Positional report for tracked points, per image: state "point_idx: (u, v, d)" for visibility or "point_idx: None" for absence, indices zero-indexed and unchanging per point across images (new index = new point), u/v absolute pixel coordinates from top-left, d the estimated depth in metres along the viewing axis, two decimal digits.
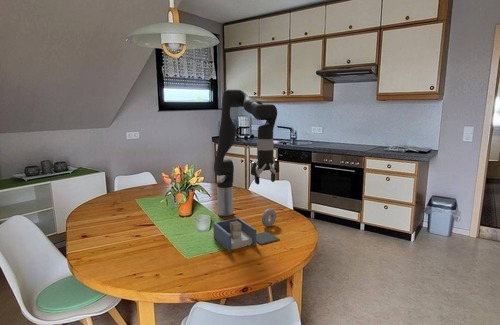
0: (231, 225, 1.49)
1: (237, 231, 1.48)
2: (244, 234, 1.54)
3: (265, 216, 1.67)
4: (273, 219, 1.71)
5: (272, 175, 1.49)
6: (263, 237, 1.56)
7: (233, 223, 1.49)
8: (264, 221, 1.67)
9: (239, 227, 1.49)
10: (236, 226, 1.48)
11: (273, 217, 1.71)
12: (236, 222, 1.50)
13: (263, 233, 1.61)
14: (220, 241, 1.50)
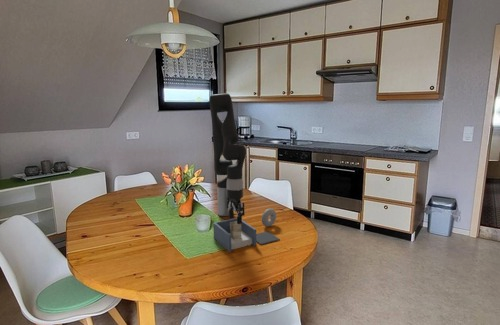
0: (231, 225, 1.49)
1: (237, 231, 1.48)
2: (244, 234, 1.54)
3: (265, 216, 1.67)
4: (273, 219, 1.71)
5: (231, 212, 1.52)
6: (263, 237, 1.56)
7: (233, 223, 1.49)
8: (264, 221, 1.67)
9: (239, 227, 1.49)
10: (236, 226, 1.48)
11: (273, 217, 1.71)
12: (236, 222, 1.50)
13: (263, 233, 1.61)
14: (220, 241, 1.50)
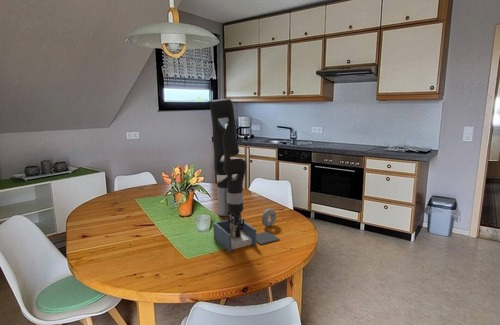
0: (231, 225, 1.49)
1: None
2: (244, 234, 1.54)
3: (265, 216, 1.67)
4: (273, 219, 1.71)
5: None
6: (263, 237, 1.56)
7: (233, 223, 1.49)
8: (264, 221, 1.67)
9: None
10: None
11: (273, 217, 1.71)
12: None
13: (263, 233, 1.61)
14: (220, 241, 1.50)
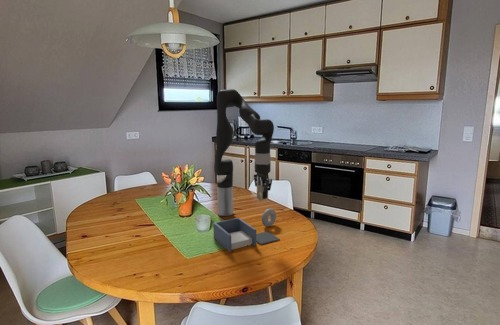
0: (258, 186, 1.50)
1: None
2: (244, 234, 1.54)
3: (265, 216, 1.67)
4: (273, 219, 1.71)
5: None
6: (263, 237, 1.56)
7: (260, 184, 1.50)
8: (264, 221, 1.67)
9: None
10: None
11: (273, 217, 1.71)
12: None
13: (263, 233, 1.61)
14: (220, 241, 1.50)
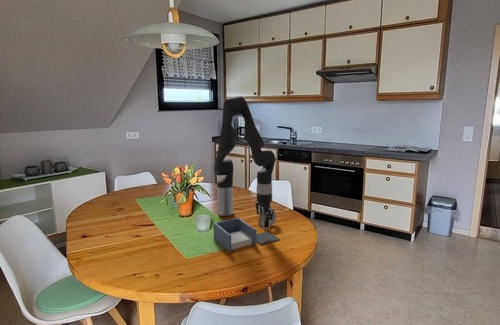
0: (260, 215, 1.53)
1: None
2: (244, 234, 1.54)
3: None
4: (273, 219, 1.71)
5: None
6: (263, 237, 1.56)
7: (262, 213, 1.53)
8: None
9: None
10: None
11: (273, 217, 1.71)
12: None
13: (263, 233, 1.61)
14: (220, 241, 1.50)
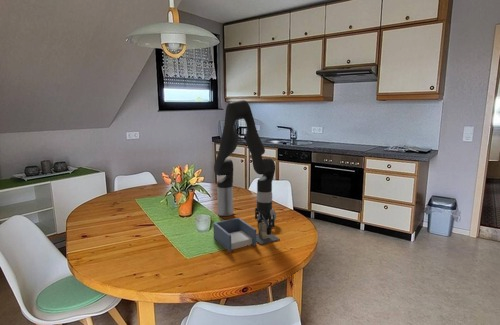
0: (260, 226, 1.54)
1: (265, 231, 1.54)
2: (244, 234, 1.54)
3: None
4: None
5: (260, 222, 1.58)
6: None
7: (262, 224, 1.54)
8: None
9: None
10: (265, 227, 1.53)
11: None
12: (264, 223, 1.56)
13: None
14: (220, 241, 1.50)
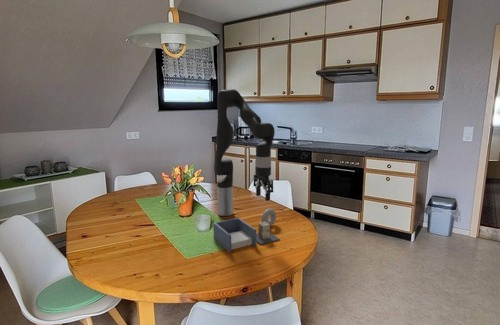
0: (260, 226, 1.54)
1: (265, 231, 1.54)
2: (244, 234, 1.54)
3: (265, 216, 1.67)
4: (273, 219, 1.71)
5: (259, 189, 1.56)
6: None
7: (262, 224, 1.54)
8: (264, 221, 1.67)
9: (268, 228, 1.54)
10: (265, 227, 1.53)
11: (273, 217, 1.71)
12: (264, 223, 1.56)
13: None
14: (220, 241, 1.50)
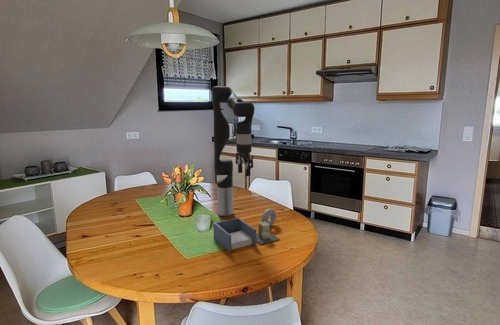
0: (260, 226, 1.54)
1: (265, 231, 1.54)
2: (244, 234, 1.54)
3: (265, 216, 1.67)
4: (273, 219, 1.71)
5: (240, 167, 1.64)
6: None
7: (262, 224, 1.54)
8: (264, 221, 1.67)
9: (268, 228, 1.54)
10: (265, 227, 1.53)
11: (273, 217, 1.71)
12: (264, 223, 1.56)
13: None
14: (220, 241, 1.50)
